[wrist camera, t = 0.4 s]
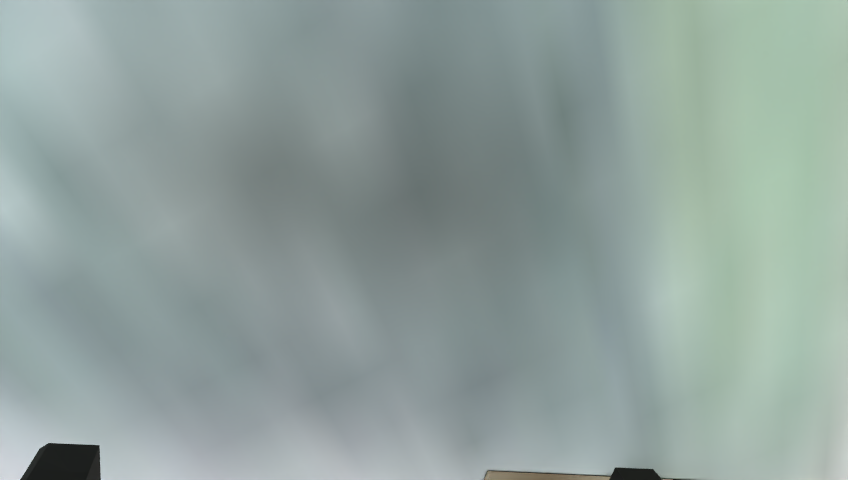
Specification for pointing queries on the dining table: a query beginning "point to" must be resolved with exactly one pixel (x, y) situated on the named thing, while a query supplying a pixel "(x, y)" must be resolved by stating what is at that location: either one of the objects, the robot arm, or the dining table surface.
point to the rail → (539, 476)
